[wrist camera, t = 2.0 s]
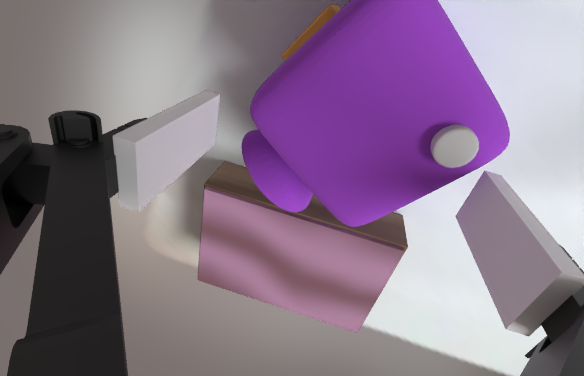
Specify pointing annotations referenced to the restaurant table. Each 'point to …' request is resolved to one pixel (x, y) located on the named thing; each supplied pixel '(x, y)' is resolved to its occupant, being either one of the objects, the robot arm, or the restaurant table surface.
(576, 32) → the restaurant table surface
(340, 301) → the walnut step
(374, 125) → the toy camera
